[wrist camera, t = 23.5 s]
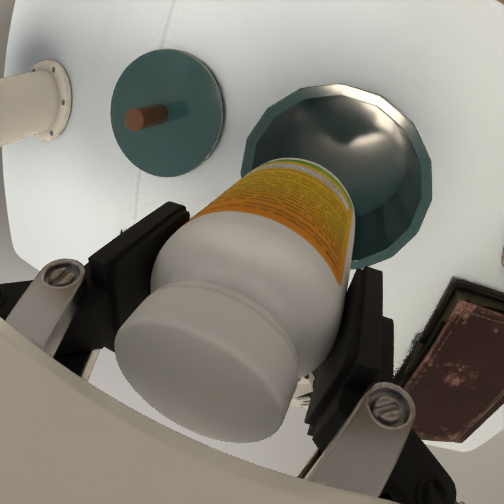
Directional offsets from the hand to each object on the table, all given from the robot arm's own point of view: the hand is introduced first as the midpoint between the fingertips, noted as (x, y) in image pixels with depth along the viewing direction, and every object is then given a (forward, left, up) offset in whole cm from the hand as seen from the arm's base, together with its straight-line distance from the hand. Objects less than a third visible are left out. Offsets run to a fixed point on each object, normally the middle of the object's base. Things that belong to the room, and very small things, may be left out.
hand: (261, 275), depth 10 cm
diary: (+26, -21, -23) cm, 41 cm away
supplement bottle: (0, 0, -5) cm, 5 cm away
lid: (-19, -1, -22) cm, 29 cm away
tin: (+1, -1, -23) cm, 23 cm away
